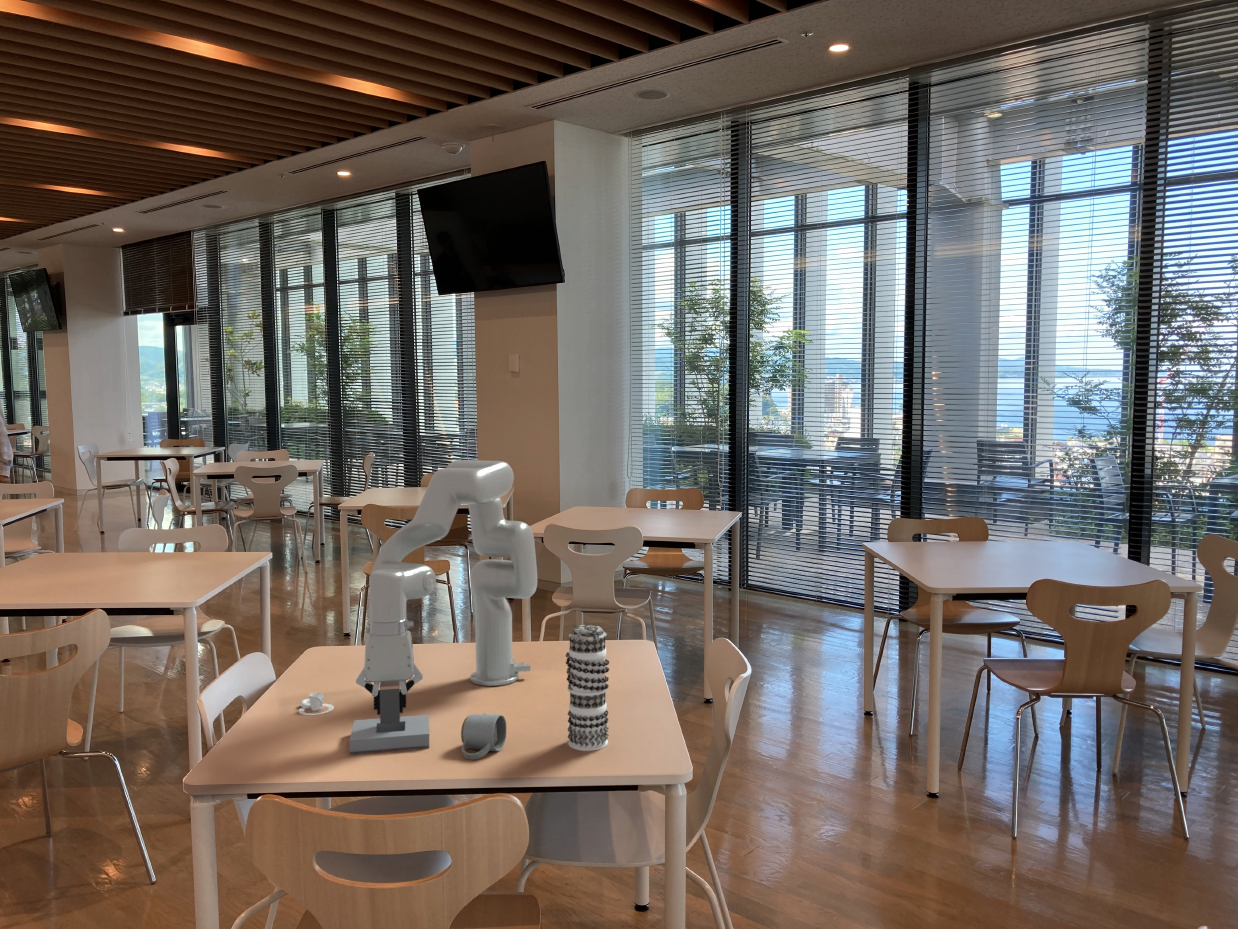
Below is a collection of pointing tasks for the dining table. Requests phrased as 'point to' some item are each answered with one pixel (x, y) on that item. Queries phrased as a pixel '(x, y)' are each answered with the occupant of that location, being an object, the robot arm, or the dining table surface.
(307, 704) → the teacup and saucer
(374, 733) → the outlet box
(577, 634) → the decorative candle
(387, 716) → the charger
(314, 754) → the dining table surface
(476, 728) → the ceramic mug
